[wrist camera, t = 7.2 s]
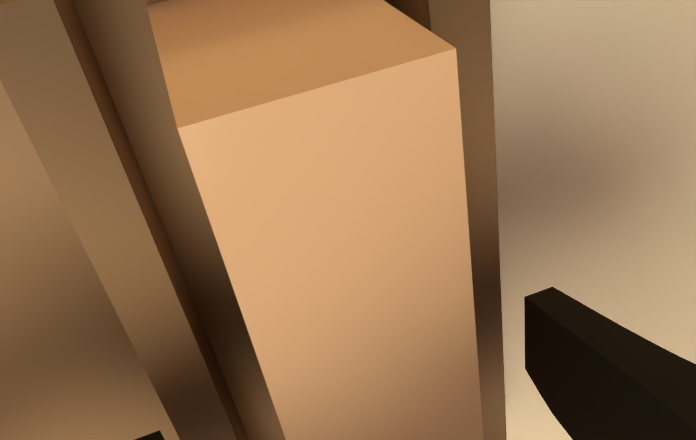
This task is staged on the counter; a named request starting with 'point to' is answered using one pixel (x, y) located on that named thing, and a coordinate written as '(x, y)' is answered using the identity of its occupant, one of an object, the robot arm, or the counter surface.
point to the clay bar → (334, 206)
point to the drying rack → (160, 235)
